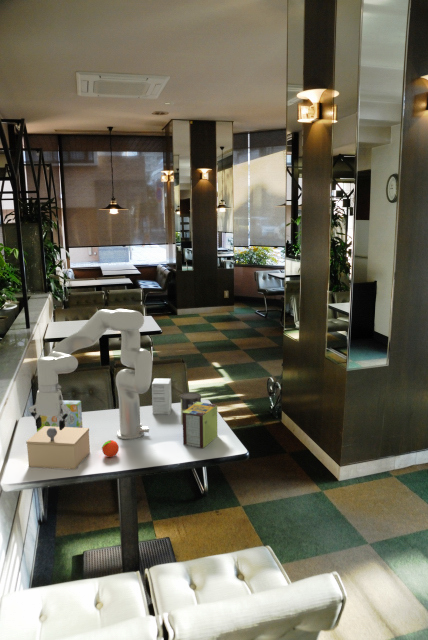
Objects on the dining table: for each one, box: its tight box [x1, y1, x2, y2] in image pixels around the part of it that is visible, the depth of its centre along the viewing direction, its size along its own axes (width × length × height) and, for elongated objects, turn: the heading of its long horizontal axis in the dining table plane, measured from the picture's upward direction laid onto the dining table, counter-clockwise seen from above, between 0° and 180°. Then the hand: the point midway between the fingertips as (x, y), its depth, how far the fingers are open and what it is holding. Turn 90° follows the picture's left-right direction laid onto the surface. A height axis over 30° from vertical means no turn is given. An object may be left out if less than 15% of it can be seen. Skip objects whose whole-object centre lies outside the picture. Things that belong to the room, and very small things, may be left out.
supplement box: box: [151, 377, 173, 415], centre depth 270 cm, size 10×9×17 cm
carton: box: [26, 430, 91, 470], centre depth 214 cm, size 20×16×10 cm
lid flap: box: [26, 426, 90, 446], centre depth 213 cm, size 20×16×6 cm
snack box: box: [34, 399, 84, 433], centre depth 244 cm, size 21×6×15 cm, turn 84°
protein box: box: [182, 401, 218, 449], centre depth 232 cm, size 10×15×16 cm
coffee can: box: [180, 391, 202, 425], centre depth 254 cm, size 10×10×14 cm
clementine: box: [101, 439, 120, 458], centre depth 217 cm, size 8×7×7 cm
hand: (50, 428), depth 206 cm, fingers open, 9 cm apart
